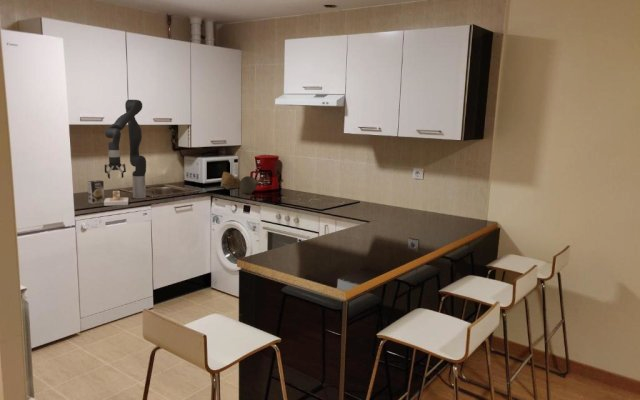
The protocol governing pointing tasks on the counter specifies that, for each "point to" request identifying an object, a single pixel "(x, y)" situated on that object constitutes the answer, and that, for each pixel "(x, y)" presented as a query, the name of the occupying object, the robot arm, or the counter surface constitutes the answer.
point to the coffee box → (95, 192)
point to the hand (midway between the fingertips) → (115, 178)
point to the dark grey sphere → (248, 185)
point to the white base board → (115, 201)
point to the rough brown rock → (229, 181)
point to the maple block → (116, 195)
